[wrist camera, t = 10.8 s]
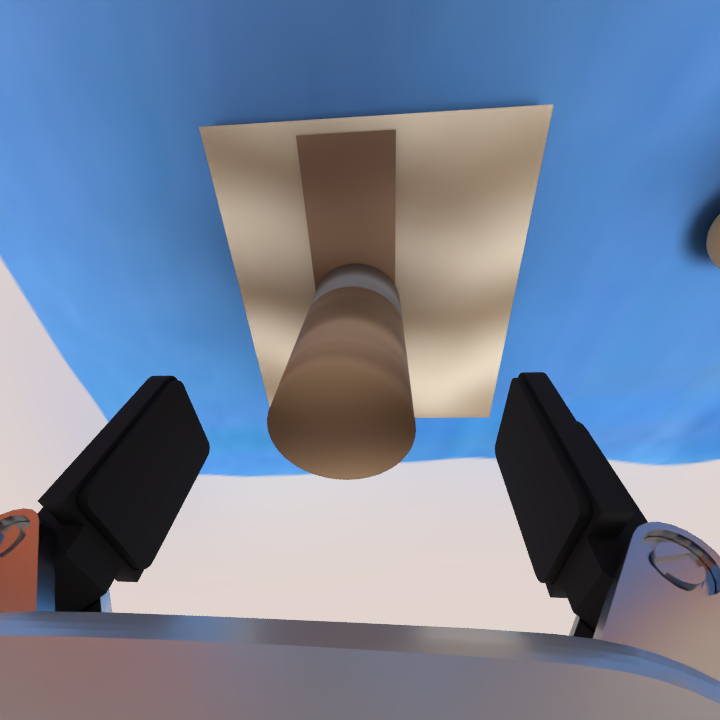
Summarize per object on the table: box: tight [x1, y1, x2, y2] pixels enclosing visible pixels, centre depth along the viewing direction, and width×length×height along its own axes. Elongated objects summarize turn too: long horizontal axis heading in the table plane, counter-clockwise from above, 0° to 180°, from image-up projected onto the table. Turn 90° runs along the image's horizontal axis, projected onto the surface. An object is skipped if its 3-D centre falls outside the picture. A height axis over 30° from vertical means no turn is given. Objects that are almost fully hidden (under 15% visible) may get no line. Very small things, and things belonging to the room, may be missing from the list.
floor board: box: [199, 104, 554, 418], centre depth 18 cm, size 16×14×2 cm
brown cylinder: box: [267, 263, 416, 480], centre depth 14 cm, size 4×4×9 cm
